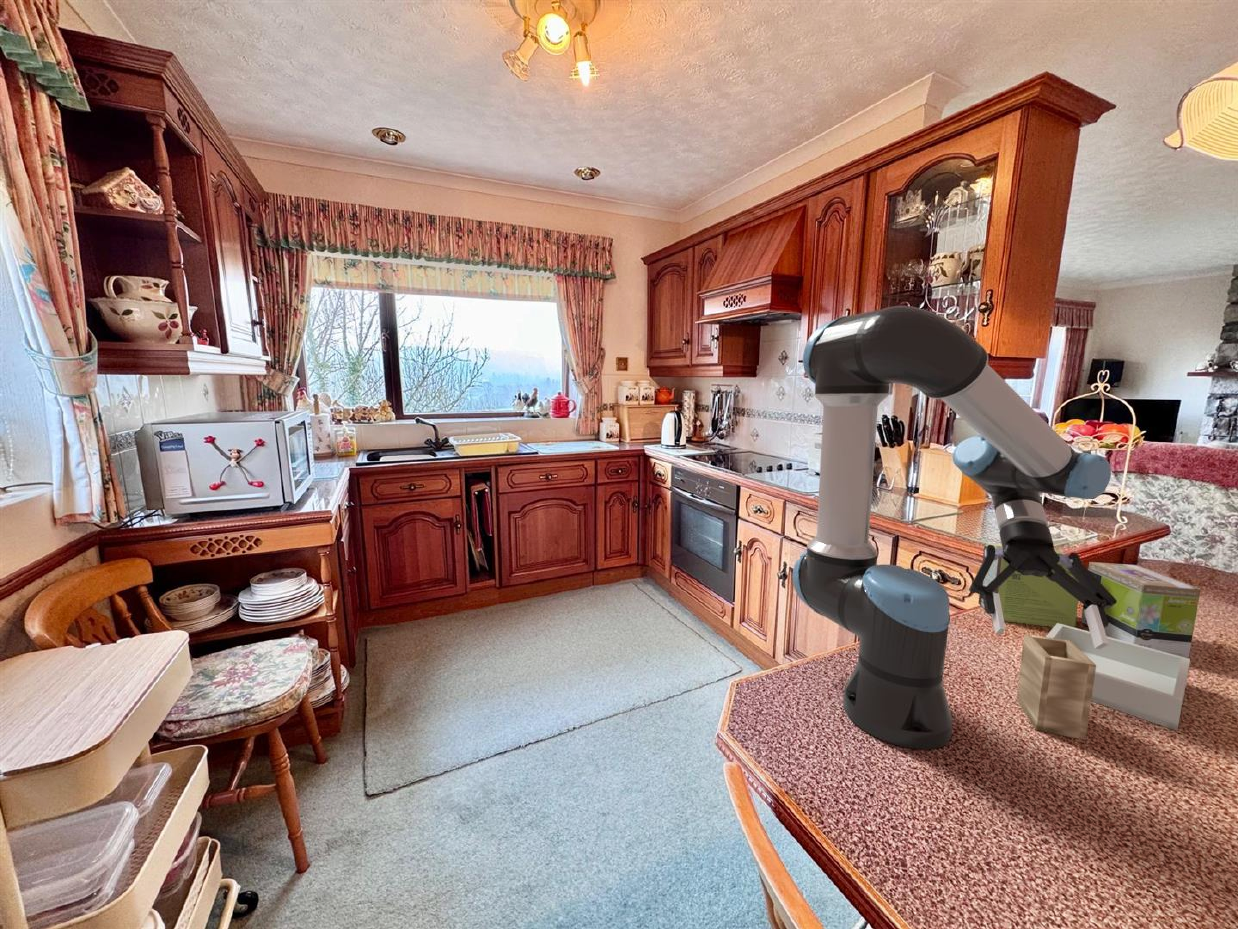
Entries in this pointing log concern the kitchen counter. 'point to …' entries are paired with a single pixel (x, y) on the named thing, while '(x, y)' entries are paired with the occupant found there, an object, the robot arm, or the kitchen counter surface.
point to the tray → (1133, 677)
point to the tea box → (1148, 607)
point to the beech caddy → (1055, 686)
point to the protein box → (1032, 597)
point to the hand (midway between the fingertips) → (1049, 639)
